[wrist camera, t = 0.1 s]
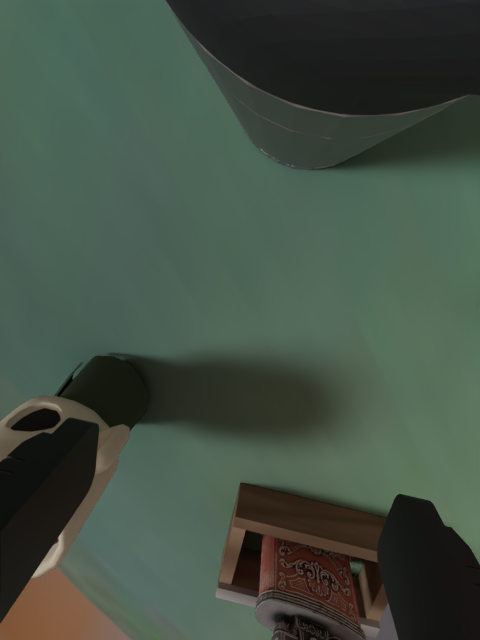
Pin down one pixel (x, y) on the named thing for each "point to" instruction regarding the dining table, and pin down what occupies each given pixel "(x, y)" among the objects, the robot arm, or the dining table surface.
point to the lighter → (306, 593)
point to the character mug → (89, 405)
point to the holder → (306, 528)
